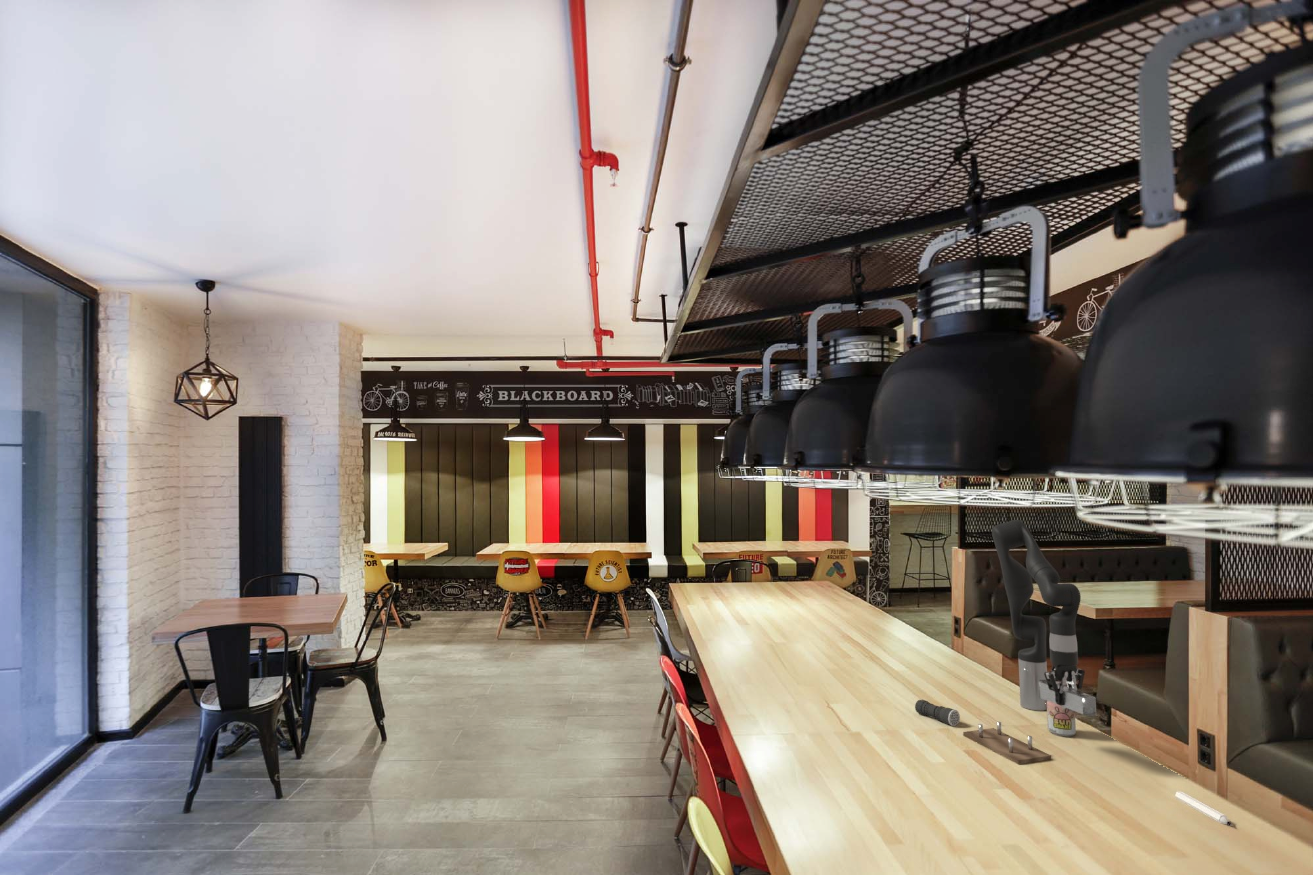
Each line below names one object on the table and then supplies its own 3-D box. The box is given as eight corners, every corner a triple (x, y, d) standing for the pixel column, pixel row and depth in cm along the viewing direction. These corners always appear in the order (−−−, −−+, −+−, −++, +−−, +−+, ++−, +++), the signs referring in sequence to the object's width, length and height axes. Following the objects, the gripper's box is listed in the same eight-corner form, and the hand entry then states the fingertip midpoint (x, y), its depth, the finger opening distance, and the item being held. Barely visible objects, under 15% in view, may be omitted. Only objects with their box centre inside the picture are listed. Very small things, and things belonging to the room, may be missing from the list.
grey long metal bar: (1045, 694, 226) (1044, 679, 227) (1099, 715, 207) (1098, 698, 207) (1035, 696, 225) (1034, 680, 226) (1088, 716, 206) (1088, 699, 206)
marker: (1233, 832, 169) (1178, 801, 185) (1240, 828, 169) (1184, 797, 185) (1227, 823, 169) (1173, 793, 185) (1234, 818, 169) (1179, 788, 185)
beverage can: (1078, 730, 234) (1076, 694, 234) (1081, 739, 226) (1079, 702, 227) (1046, 726, 238) (1045, 691, 238) (1049, 735, 230) (1047, 698, 231)
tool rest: (993, 731, 234) (992, 715, 234) (1051, 759, 211) (1050, 741, 211) (963, 735, 231) (962, 719, 231) (1018, 764, 208) (1017, 746, 208)
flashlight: (913, 714, 252) (913, 699, 253) (924, 711, 255) (923, 696, 255) (949, 727, 239) (949, 711, 239) (960, 724, 241) (959, 708, 242)
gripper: (1071, 643, 223) (1074, 697, 222) (1035, 647, 219) (1037, 702, 218) (1092, 649, 215) (1094, 705, 214) (1054, 652, 212) (1057, 710, 211)
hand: (1066, 703), depth 216 cm, fingers closed on grey long metal bar, 4 cm apart
